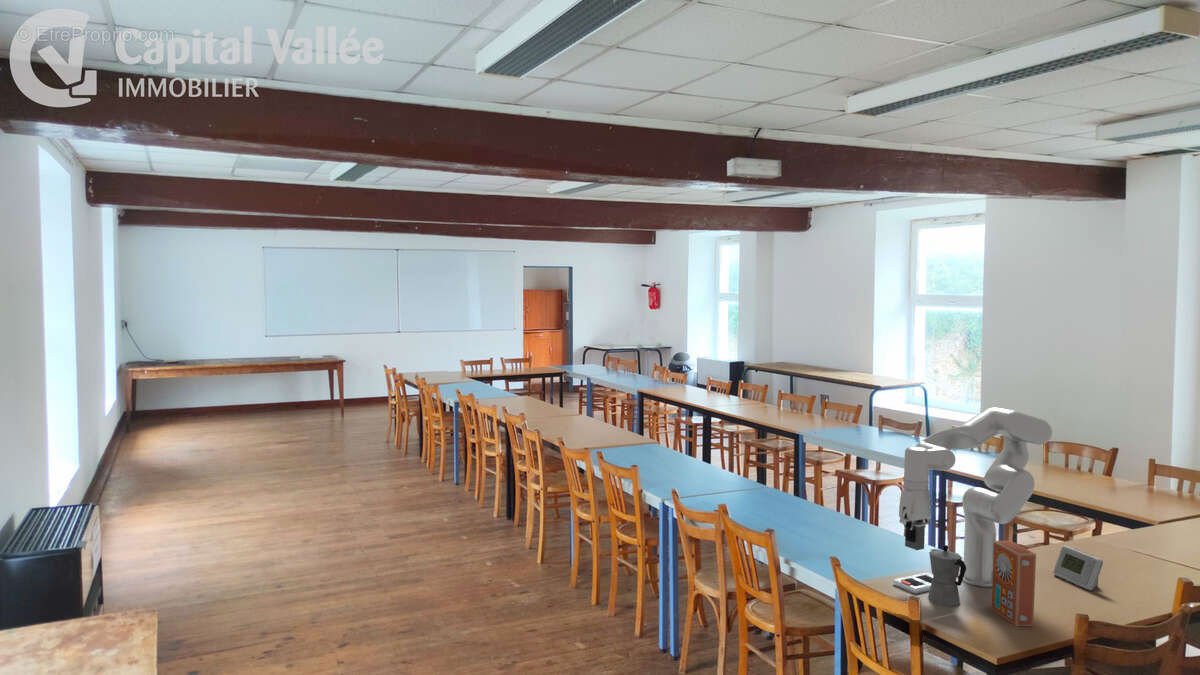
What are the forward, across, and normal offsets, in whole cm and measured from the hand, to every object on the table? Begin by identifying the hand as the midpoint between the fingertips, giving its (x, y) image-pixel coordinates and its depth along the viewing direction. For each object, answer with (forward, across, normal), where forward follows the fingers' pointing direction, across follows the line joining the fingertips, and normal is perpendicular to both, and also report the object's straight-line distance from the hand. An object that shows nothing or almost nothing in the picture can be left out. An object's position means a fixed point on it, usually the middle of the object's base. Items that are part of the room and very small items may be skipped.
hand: (914, 539), depth 251 cm
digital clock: (+17, -55, +20) cm, 61 cm away
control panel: (+16, -8, +29) cm, 35 cm away
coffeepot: (+16, +1, +13) cm, 21 cm away
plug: (+3, 0, 0) cm, 3 cm away
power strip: (+16, -4, 0) cm, 17 cm away
